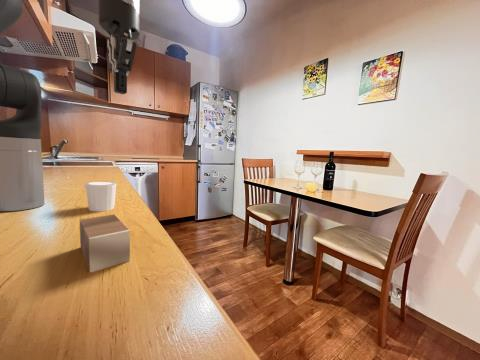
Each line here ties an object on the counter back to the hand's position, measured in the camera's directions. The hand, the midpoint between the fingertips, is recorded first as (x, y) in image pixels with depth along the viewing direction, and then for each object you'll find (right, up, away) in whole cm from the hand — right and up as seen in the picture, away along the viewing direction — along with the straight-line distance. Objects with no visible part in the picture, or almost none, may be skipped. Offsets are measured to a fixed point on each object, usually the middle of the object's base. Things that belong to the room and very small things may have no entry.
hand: (120, 93), depth 45 cm
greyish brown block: (+2, -28, -9) cm, 30 cm away
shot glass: (-11, -27, +10) cm, 31 cm away
